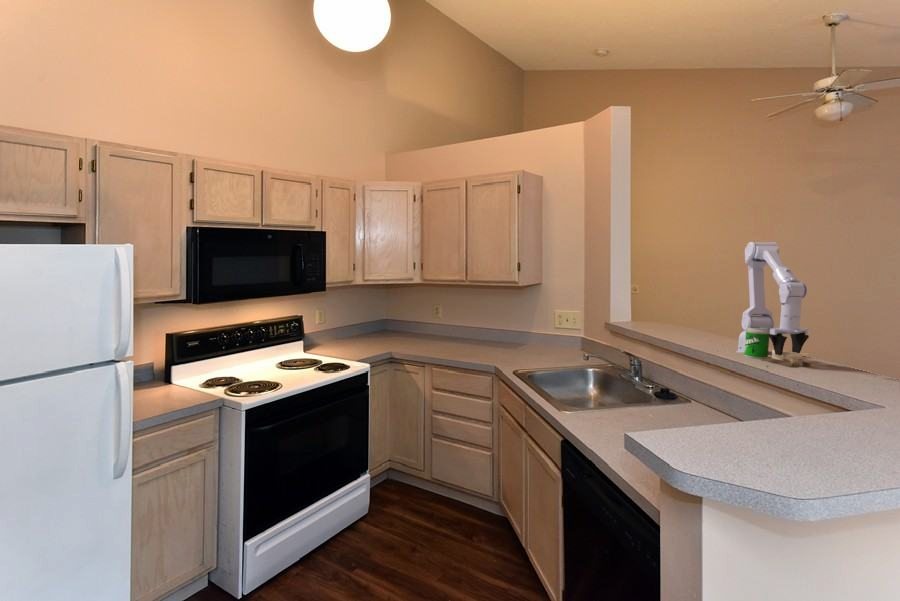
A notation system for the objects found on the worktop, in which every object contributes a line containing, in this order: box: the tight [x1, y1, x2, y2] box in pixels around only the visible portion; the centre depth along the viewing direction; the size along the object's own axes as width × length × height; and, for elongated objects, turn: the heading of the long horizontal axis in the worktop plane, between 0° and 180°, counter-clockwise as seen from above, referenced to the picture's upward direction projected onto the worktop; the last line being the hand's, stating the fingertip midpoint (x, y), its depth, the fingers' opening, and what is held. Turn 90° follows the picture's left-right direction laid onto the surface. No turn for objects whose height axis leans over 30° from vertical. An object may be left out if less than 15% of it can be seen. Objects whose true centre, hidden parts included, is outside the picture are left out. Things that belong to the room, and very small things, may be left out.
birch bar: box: [771, 349, 803, 366], centre depth 174 cm, size 8×4×4 cm, turn 14°
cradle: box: [761, 356, 837, 368], centre depth 175 cm, size 12×20×4 cm, turn 104°
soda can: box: [743, 327, 770, 360], centre depth 184 cm, size 8×8×12 cm
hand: (787, 354), depth 174 cm, fingers open, 7 cm apart
